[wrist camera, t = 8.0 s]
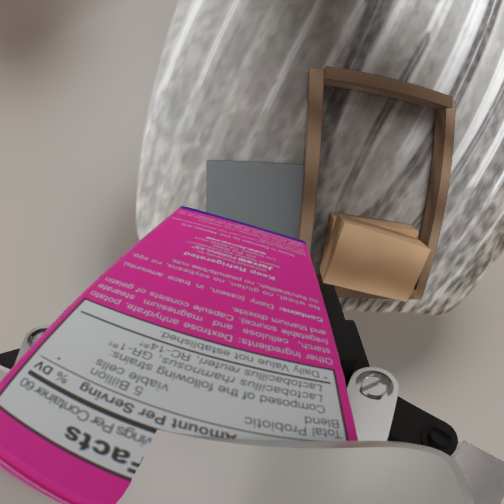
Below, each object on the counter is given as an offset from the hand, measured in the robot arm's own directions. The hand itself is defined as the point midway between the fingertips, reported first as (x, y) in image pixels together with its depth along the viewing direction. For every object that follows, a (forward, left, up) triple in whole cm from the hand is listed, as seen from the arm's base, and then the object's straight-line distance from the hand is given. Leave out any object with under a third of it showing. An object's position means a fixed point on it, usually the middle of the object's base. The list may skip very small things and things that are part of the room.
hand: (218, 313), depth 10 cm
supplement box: (0, 0, -3) cm, 3 cm away
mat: (0, 0, -16) cm, 16 cm away
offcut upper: (+3, +10, -14) cm, 17 cm away
